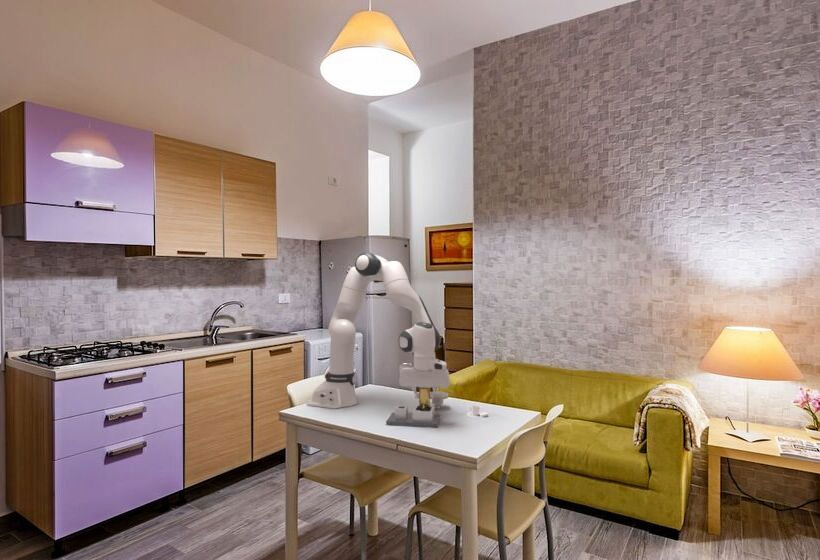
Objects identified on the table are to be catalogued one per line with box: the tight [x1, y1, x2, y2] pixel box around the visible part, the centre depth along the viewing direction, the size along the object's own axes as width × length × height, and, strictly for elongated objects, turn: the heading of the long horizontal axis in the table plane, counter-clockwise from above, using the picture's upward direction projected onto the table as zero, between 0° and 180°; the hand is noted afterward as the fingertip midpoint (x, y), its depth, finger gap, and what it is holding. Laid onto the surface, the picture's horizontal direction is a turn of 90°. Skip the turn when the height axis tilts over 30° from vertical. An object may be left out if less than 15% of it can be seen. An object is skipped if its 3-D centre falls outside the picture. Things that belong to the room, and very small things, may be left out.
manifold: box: [385, 404, 441, 429], centre depth 184 cm, size 20×12×6 cm, turn 80°
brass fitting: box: [418, 387, 431, 409], centre depth 183 cm, size 4×4×8 cm
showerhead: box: [430, 390, 449, 410], centre depth 203 cm, size 9×7×10 cm
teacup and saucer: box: [466, 404, 489, 419], centre depth 193 cm, size 9×8×4 cm
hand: (424, 398), depth 183 cm, fingers closed on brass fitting, 4 cm apart
